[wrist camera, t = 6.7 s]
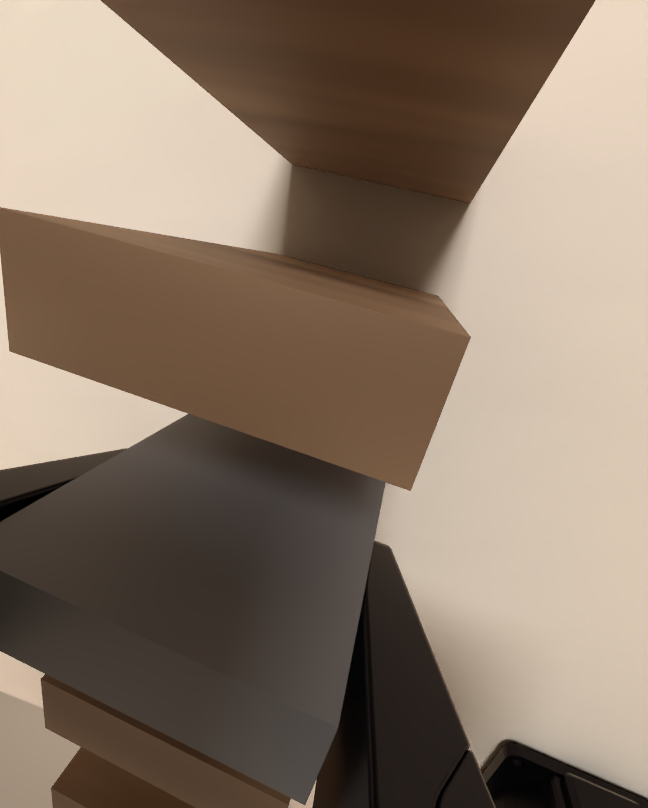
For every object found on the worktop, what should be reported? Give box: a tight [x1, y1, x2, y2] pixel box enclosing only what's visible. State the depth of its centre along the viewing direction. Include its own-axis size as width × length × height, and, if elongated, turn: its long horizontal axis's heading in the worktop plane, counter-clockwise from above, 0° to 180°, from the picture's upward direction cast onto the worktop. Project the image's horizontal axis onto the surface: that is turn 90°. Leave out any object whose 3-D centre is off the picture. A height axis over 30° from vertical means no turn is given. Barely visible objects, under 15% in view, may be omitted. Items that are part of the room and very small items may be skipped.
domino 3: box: [0, 207, 471, 491], centre depth 7 cm, size 2×5×8 cm, turn 76°
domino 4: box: [41, 674, 290, 808], centre depth 10 cm, size 2×5×8 cm, turn 76°
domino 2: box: [101, 0, 595, 203], centre depth 6 cm, size 2×5×8 cm, turn 76°
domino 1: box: [51, 747, 195, 808], centre depth 12 cm, size 2×5×8 cm, turn 76°
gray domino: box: [0, 414, 385, 805], centre depth 8 cm, size 2×5×8 cm, turn 76°
